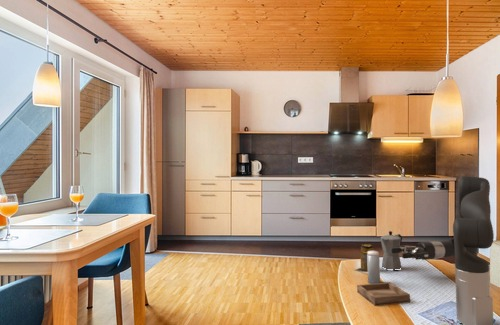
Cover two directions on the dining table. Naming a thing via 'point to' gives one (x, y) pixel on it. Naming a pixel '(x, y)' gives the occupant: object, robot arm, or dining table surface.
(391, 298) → the tray
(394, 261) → the coffeepot
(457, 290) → the robot arm
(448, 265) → the dining table surface
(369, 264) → the salt shaker
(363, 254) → the condiment
